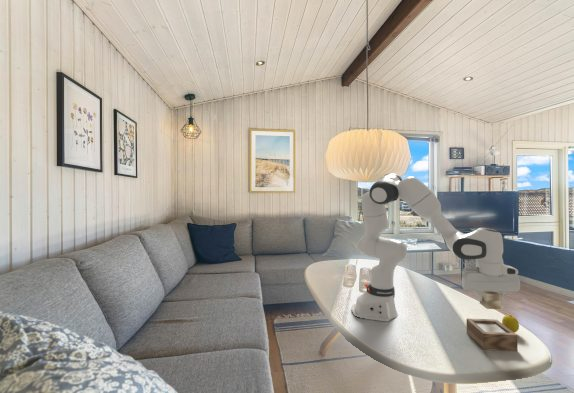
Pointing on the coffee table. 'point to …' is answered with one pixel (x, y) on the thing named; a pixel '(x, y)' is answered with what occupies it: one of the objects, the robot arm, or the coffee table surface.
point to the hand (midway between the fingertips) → (490, 301)
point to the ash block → (491, 300)
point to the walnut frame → (492, 334)
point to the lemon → (510, 323)
